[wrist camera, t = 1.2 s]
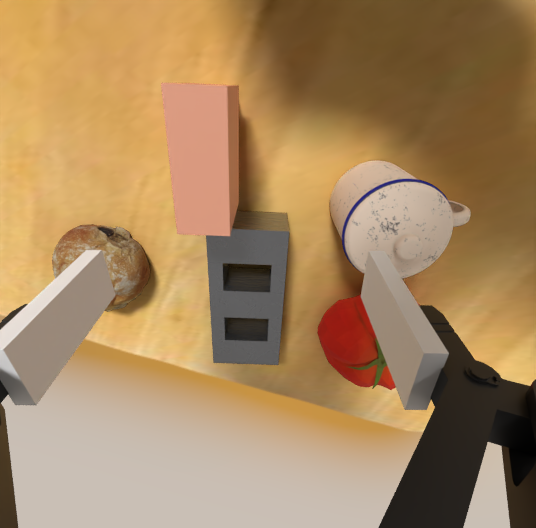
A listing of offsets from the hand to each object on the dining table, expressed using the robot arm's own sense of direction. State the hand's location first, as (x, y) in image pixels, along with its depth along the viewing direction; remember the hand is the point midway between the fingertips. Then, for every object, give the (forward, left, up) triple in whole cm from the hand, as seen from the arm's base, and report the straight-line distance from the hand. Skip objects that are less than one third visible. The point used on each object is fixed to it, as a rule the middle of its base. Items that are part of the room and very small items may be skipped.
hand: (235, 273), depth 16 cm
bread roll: (+11, -17, -20) cm, 28 cm away
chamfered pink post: (-3, -3, -19) cm, 20 cm away
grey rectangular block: (+13, 0, -19) cm, 23 cm away
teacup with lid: (+2, +14, -20) cm, 24 cm away
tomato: (+18, +15, -20) cm, 31 cm away
